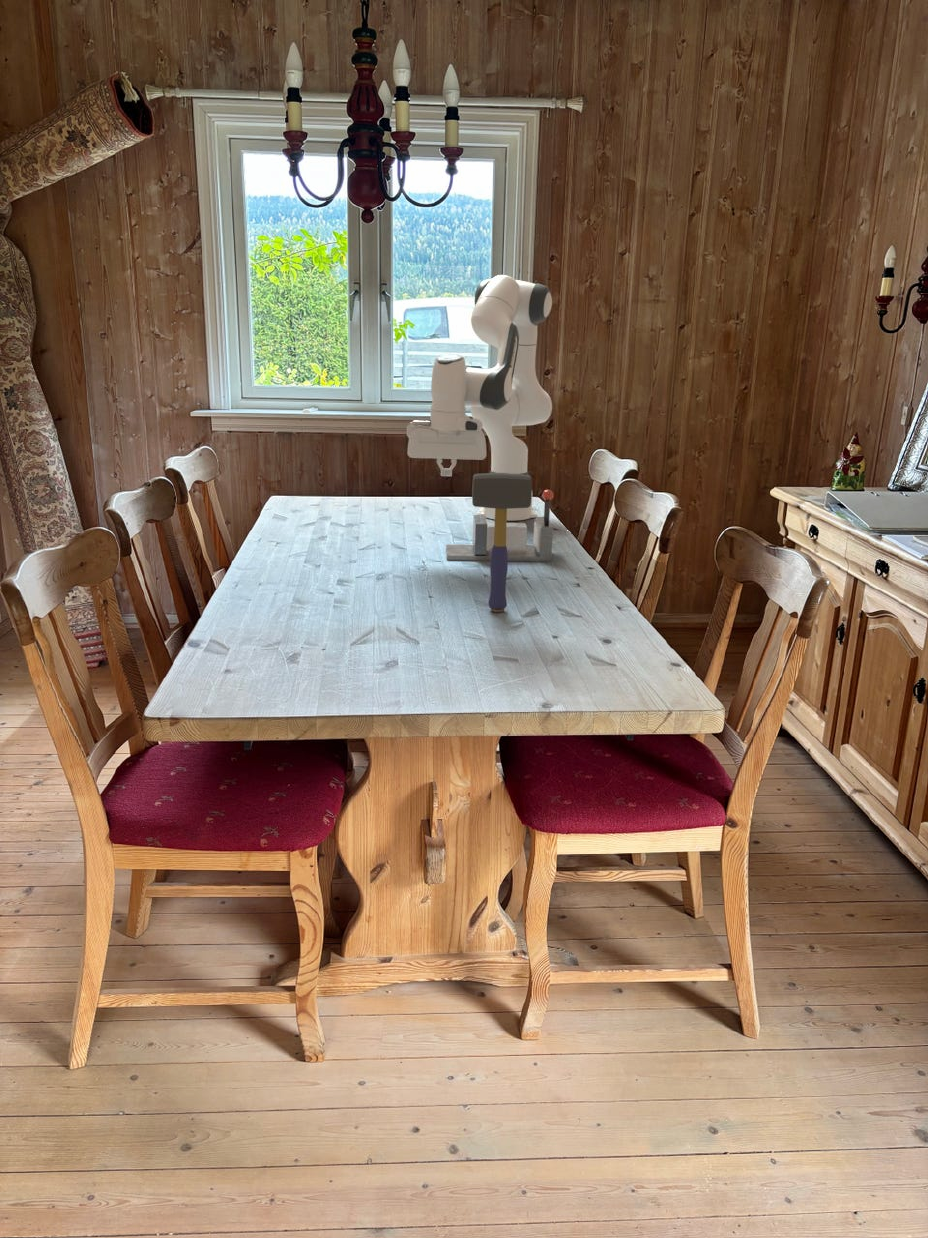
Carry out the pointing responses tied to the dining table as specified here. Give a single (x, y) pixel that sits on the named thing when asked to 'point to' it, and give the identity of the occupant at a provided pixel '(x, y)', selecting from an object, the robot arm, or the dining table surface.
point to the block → (511, 537)
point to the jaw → (480, 534)
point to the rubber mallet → (500, 521)
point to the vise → (533, 553)
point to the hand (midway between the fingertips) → (446, 475)
